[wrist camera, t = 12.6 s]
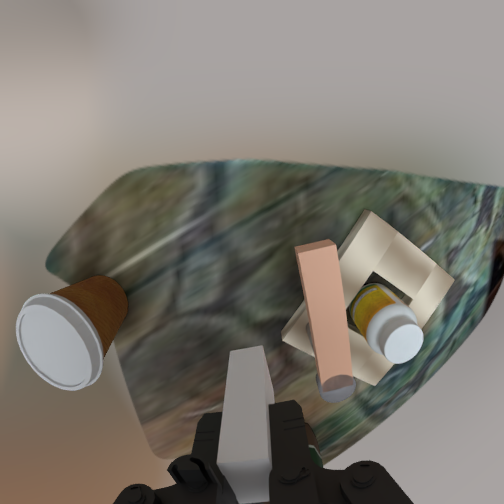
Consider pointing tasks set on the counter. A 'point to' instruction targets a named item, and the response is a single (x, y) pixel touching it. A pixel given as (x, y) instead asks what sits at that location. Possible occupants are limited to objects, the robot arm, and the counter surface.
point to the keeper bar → (327, 318)
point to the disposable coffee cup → (71, 330)
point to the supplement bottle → (386, 323)
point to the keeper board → (390, 268)
